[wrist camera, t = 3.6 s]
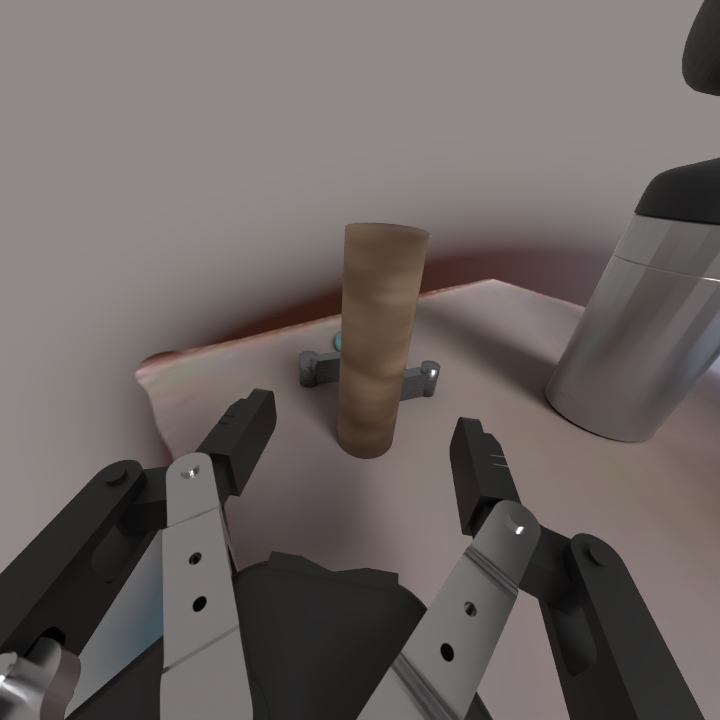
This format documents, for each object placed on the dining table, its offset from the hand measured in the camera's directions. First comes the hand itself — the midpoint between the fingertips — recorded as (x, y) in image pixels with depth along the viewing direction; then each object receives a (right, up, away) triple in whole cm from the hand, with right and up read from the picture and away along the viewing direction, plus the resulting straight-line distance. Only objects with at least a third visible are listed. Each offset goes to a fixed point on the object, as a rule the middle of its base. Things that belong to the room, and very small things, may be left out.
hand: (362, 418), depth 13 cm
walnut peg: (0, -4, +12) cm, 12 cm away
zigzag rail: (+1, 0, +18) cm, 18 cm away
